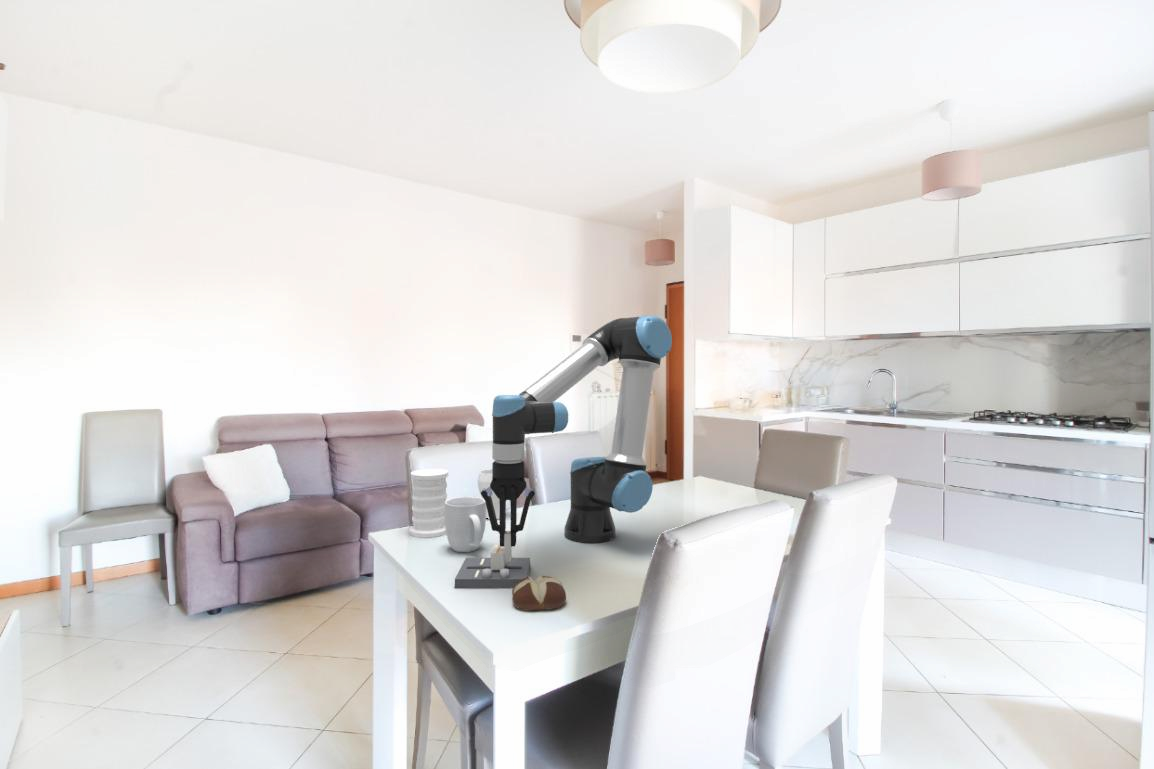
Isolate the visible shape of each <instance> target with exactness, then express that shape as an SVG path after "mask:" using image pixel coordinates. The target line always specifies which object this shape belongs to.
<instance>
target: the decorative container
mask: <svg viewBox="0 0 1154 769" xmlns="http://www.w3.org/2000/svg"><path fill="white" fill-rule="evenodd" d="M448 476H449V470H447V469H443V468H423V469H417V470H413V471H411V472H410V478H411V479H412V485H411V488H412V495H411V500H412V506H411V509H412V517H411V520H412V521H411V522H413V523H412V524H413V525H412V526H410V528H409V535H410V536H412V537H415V538H420V539H421V538H423V539H425V538H426V539H428V538H429V539H430V538H437V537H441V536H445V535H447V534H446V529H445V501H446V500H447V498H448V494H447V487H448V483H447V478H448Z"/></svg>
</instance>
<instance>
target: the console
mask: <svg viewBox="0 0 1154 769" xmlns="http://www.w3.org/2000/svg"><path fill="white" fill-rule="evenodd" d="M529 569H530V570H531V557H512V558H511V562H506V564H505V567H504V569H501V570H491V557H465V559H464V560H463V563H462V564H461V566H460V569H459V570H458V572H457V574H456V576H455V578H454V588H455V589H513V587H514V586H515V584H516V583H517V582H518V581H520V580H521V579H524V578H526V577H529V574H530V570H529Z"/></svg>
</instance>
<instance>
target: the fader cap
mask: <svg viewBox="0 0 1154 769" xmlns="http://www.w3.org/2000/svg"><path fill="white" fill-rule="evenodd" d="M490 558H491V570H501V569H504V567H505V564H506V562H504V547H500V545H493V546H492V549H491V551H490Z"/></svg>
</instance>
